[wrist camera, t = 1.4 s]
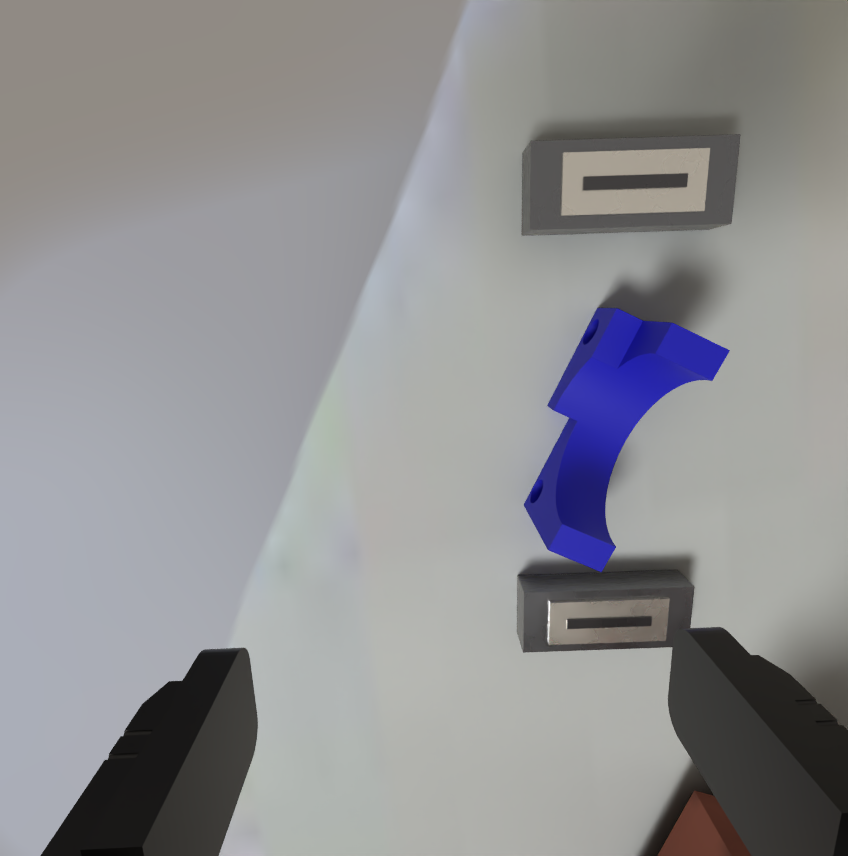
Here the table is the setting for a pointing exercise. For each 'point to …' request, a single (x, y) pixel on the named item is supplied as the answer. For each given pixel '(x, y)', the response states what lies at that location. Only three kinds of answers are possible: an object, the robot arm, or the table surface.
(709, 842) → the potted plant
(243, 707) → the robot arm
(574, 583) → the label stands
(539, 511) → the cable clip
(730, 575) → the table surface
